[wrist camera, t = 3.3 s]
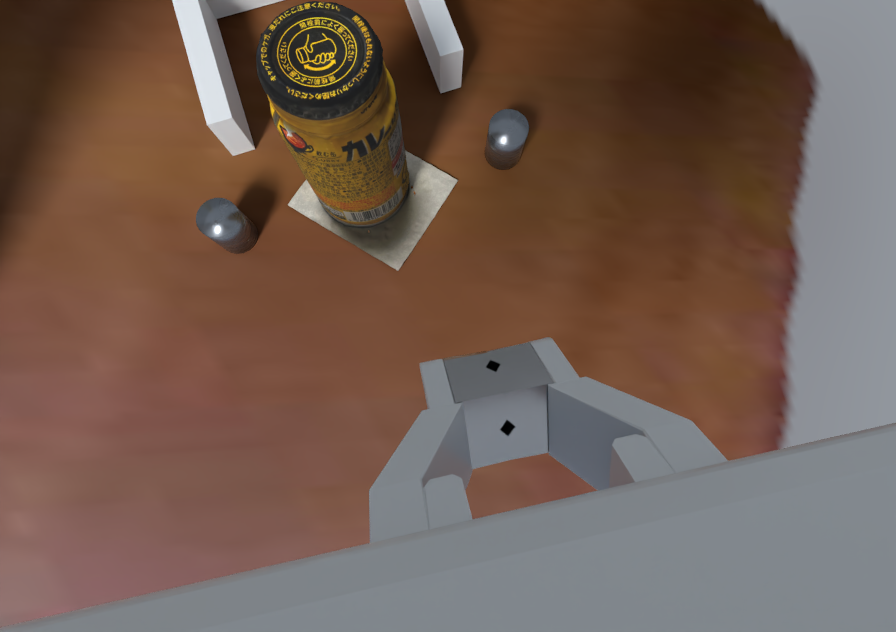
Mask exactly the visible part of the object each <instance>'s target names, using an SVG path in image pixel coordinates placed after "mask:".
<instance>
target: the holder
mask: <svg viewBox="0 0 896 632" xmlns="http://www.w3.org/2000/svg"><path fill="white" fill-rule="evenodd" d="M172 1H173V5H174V8H175V12H176V16H177V19H178V23H179V26H180V30H181V33H182V37H183V41H184V44H185V48H186V51H187V55H188V58H189V62H190V66H191V69H192V73H193V76H194V80H195V83H196V87H197V91H198V94H199V98H200V101H201V105H202V108H203V112H204V116H205V119H206V123H207V125H208V127H209V128H210V129H211V130H212V131H213V133H214V134H215V135H216V136H217V137H218V139H219V140H220V141H221V142H222V143H223V144H224V146H225V147H226V148H227V149H228V150H229V152H230V153H231V154H232V155H233V156H234V155H238V154H241V153H244V152H248V151H251V150H254V149H255V147H254V143H253V140H252V137H251V133H250V130H249V127H248V123H247V120H246V117H245V113H244V110H243V106H242V103H241V100H240V96H239V93H238V90H237V86H236V83H235V80H234V76H233V73H232V69H231V66H230V63H229V59H228V56H227V53H226V49H225V46H224V42H223V39H222V36H221V32H220V29H219V26H218V22H217V19H218V18H222V17H226V16H229V15H233V14H236V13H240V12H244V11H247V10H251V9H254V8H258V7H262V6H265V5H269V4H272V3H276V2H279V1H283V0H172ZM405 2H406V5H407V7H408V10H409V13H410V15H411V18H412V20H413V23H414V26H415V28H416V31H417V34H418V36H419V39H420V41H421V44H422V47H423V49H424V52H425V54H426V57H427V60H428V62H429V65H430V68H431V70H432V73H433V75H434V78H435V81H436V83H437V86H438V88H439V91H440V93H444V92H447V91H450V90H454V89H457V88H460V87H461V80H462V64H463V47H462V45H461V42H460V40H459V37H458V35H457V32H456V30H455V27H454V25H453V22H452V20H451V17H450V15H449V12H448V10H447V7H446V5H445V2H444V0H405Z"/></svg>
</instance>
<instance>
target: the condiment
mask: <svg viewBox="0 0 896 632" xmlns="http://www.w3.org/2000/svg"><path fill="white" fill-rule="evenodd" d="M382 52H383V49H382V47H381V43H380V40H379V39H378V37H377V35H376V34H375V33H374V31H373V29H372V28H371V27H370V25H369V23H368V22H367V21H366V20H365V19H364V18H363V17H362V16H360V15H359V14H357V13H356V12H354V11H353V10H351V9H349V8H346V7H344V6H343V5H339V4H337V3H332V2H317V1H312V2H306V3H303V4H300V5H297V6H294V7H292V8H289V9H288V10H286V11H284V12H283V13H281V14H280V15H279V16H277V17H276V18H275V19H274V20H273V21H272V23H271V24H270V25H269V26H268V27H267V29H266V30H265V31H264V33H262V34H261V37H260V40H259V45H258V47H257V54H256V62H257V75H258V77H259V80H260V82H261V84H262V87H263V89H264V91H265V92H266V94H267V96H268V99H269V101H270V108H271V115H272V118H273V120H274V124H275V126H276V128H277V130H278V131H279V134H280V136H281V137H282V138H283V140H284V142H285V143H286V145H287V147H288V149H289V151H290V152H291V154H292V156H293V157H294V159H295V160H296V162H297V164H298V166H299V168H300V169H301V171H302V173H303V174H304V176H305V178H306V179H307V180H306V181H305V182H304V183H303V185H302V186H301V187H300V188H299V190H298V191H297V193H296V194H295V195H294V197H293V198H292V199H291V201H290V202H289V204H288V206H290V207H292V208H293V209H295V210H297V211H298V212H300V213H302V214H303V215H305V216H307V217H308V218H310V219H311V220H313V221H315V222H317V223H318V224H320V225H321V226H323V227H325V228H326V229H328V230H330V231H332V232H333V233H335V234H337V235H338V236H340V237H342V238H343V239H345V240H347V241H349V242H351V243H352V244H354V245H356V246H357V247H359V248H360V249H362V250H364V251H365V252H367V253H369V254H370V255H372V256H374V257H375V258H377V259H379V260H381V261H383V262H384V263H386V264H388V265H389V266H391V267H392V268H394V269H396V270H397V271H398V270H399V269H400V267H401V266H402V264H403V263H404V261H405V260H406V259H407V257H408V256H409V254H410V253H411V251H412V250H413V248H414V247H415V245H416V244H417V242H418V241H419V239H420V238H421V236H422V235H423V233H424V232H425V230H426V229H427V227H428V226H429V224H430V222H431V221H432V220H433V218H434V217H435V215H436V213H437V212H438V210H439V208H440V207H441V206H442V204H443V203H444V201H445V200H446V198H447V197H448V195H449V193H450V192H451V190H452V189H453V187H454V186H455V184H456V183H457V181H458V180H456V179H454V178H453V177H451V176H450V175H448V174H446V173H444V172H442V171H440V170H439V169H437V168H436V167H434V166H432V165H431V164H428V163H426V162H425V161H423V160H421V159H420V158H418V157H416V156H414V155H413V154H411V153H409V152H407V151H405V147H404V141H403V134H402V127H401V120H400V113H399V106H398V100H397V94H396V88H395V83H394V80H393V79H392V77H391V75H390V73H389V71H388V70H387V68H386V67H385V63H384V61H383V56H382ZM411 186H413V189H411ZM413 191H415V192H416V194H415V195H414V193H413ZM368 230H369V231H370V233H369V232H368Z"/></svg>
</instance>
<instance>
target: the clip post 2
mask: <svg viewBox="0 0 896 632" xmlns="http://www.w3.org/2000/svg"><path fill="white" fill-rule="evenodd" d="M528 131H529V125H528V121H527V119H526V118H525V116H524V115H523V114H521V113H520V112H518V111H516V110H512V109H505V110H501V111H499V112H497V113H496V114H495V115H494V116H493V117H492V118H491V120H490V124H489V130H488V135H487V141H486V147H485V157H486V160H487V161H488V163H489V164H490V165H491V166H493V167H494V168H497V169H501V170H505V169H510V168H512V167H514V166H515V165H516V164H517V163H518V161H519V159H520V156H521V153H522V150H523V147H524V144H525V141H526V138H527V134H528Z"/></svg>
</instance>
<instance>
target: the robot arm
mask: <svg viewBox="0 0 896 632" xmlns="http://www.w3.org/2000/svg"><path fill="white" fill-rule="evenodd" d="M420 370H421V376H422V381H423V386H424V392H425V397H426V402H427V408H428V410H423V411H421V413H420V414H419V416H418V417H417V419H416V420H415V422H414V423H413V425H412V426H411V428H410V429H409V431H408V432H407V434H406V435H405V437H404V439H403V440H402V442H401V443H400V445H399V446H398V448H397V449H396V451H395V452H394V454H393V455H392V457H391V458H390V460H389V461H388V463H387V464H386V466H385V467H384V469H383V470H382V472H381V473H380V475H379V476H378V478H377V479H376V481H375V482H374V484H373V485H372V487H371V488H370V490H369V509H370V543H368V544H363V545H359V546H355V547H350V548H346V549H341V550H337V551H333V552H328V553H324V554H320V555H315V556H311V557H306V558H302V559H298V560H293V561H289V562H285V563H280V564H276V565H271V566H267V567H263V568H258V569H254V570H250V571H245V572H241V573H236V574H232V575H228V576H223V577H219V578H215V579H210V580H206V581H201V582H197V583H193V584H188V585H184V586H179V587H175V588H171V589H166V590H162V591H157V592H153V593H149V594H144V595H140V596H135V597H131V598H127V599H122V600H118V601H114V602H109V603H105V604H100V605H96V606H92V607H87V608H83V609H78V610H74V611H70V612H65V613H61V614H56V615H52V616H48V617H43V618H39V619H34V620H30V621H26V622H21V623H17V624H12V625H8V626H4V627H0V632H896V423H892V424H888V425H884V426H879V427H875V428H871V429H866V430H862V431H857V432H853V433H849V434H844V435H840V436H836V437H831V438H827V439H822V440H819V441H814V442H809V443H805V444H801V445H797V446H792V447H788V448H784V449H779V450H775V451H771V452H767V453H762V454H758V455H753V456H749V457H744V458H740V459H736V460H731V461H728V460H727V459H726V458H725V457H724V456H723V455H722V454H721V453H720V452H719V450H718V449H717V448H716V447H715V446H714V445H713V444H712V443H711V442H710V441H709V439H708V438H707V437H706V436H705V435H704V434H703V433H702V432H701V431H700V430H699V429H698V427H697V426H696V425H695V424H694V423H693V422H692V421H691V420H688V419H686V418H684V417H681V416H679V415H676V414H674V413H672V412H669V411H667V410H665V409H662V408H660V407H657V406H655V405H653V404H650V403H648V402H645V401H643V400H641V399H638V398H636V397H633V396H631V395H629V394H626V393H624V392H621V391H619V390H617V389H614V388H612V387H609V386H607V385H605V384H602V383H600V382H597V381H595V380H593V379H590V378H588V377H583V378H580V377H579V376H578V375H577V373H576V372H575V370H574V369H573V367H572V366H571V365H570V363H569V362H568V360H567V359H566V358H565V356H564V355H563V353H562V352H561V350H560V349H559V348H558V346H557V345H556V343H555V342H554V340H553V339H552V338H550V337H547V338H543V339H539V340H535V341H530V342H528V343H523V344H519V345H514V346H509V347H505V348H500V349H495V350H490V351H483V352H477V353H471V354H466V355H460V356H454V357H449V358H443V360H442V359H437V360H432V361H427V362H422V363H420ZM543 453H549V455H551V456H552V457H553V458H555V459H556V460H558V461H559V462H560V463H562V464H563V465H564V466H566V467H567V468H568V469H570V470H571V471H572V472H574V473H575V474H576V475H578V476H579V477H580V478H582V479H583V480H585V481H586V482H587V483H589V484H590V485H591V486H593V487H594V488H595V489H597V490H598V491H595V492H590V493H586V494H582V495H577V496H573V497H569V498H564V499H560V500H555V501H551V502H547V503H542V504H538V505H534V506H529V507H525V508H521V509H516V510H512V511H508V512H503V513H499V514H494V515H490V516H486V517H481V518H477V519H473V520H472V516H471V512H470V508H469V504H468V500H467V496H466V493H465V490H466V488H467V485H468V482H469V479H470V477H471V474H472V469H475V468H479V467H483V466H487V465H491V464H495V463H499V462H503V461H507V460H512V459H517V458H522V457H528V456H533V455H538V454H543Z"/></svg>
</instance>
